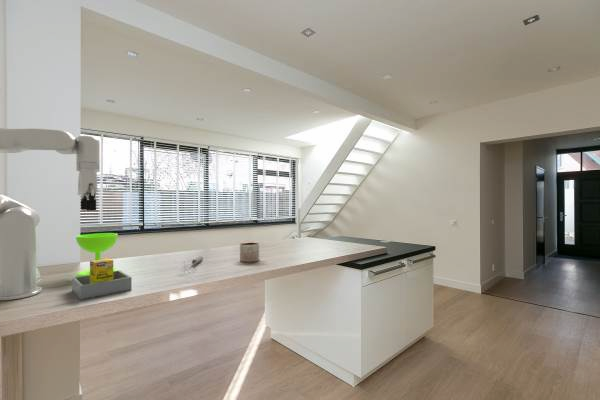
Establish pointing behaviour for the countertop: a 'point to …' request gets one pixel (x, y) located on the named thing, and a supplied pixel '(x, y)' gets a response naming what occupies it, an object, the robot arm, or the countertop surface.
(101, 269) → the supplement box
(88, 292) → the bin
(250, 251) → the planter
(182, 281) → the countertop surface
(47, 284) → the countertop surface
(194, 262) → the kitchen whisk
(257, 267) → the countertop surface
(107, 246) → the wineglass
